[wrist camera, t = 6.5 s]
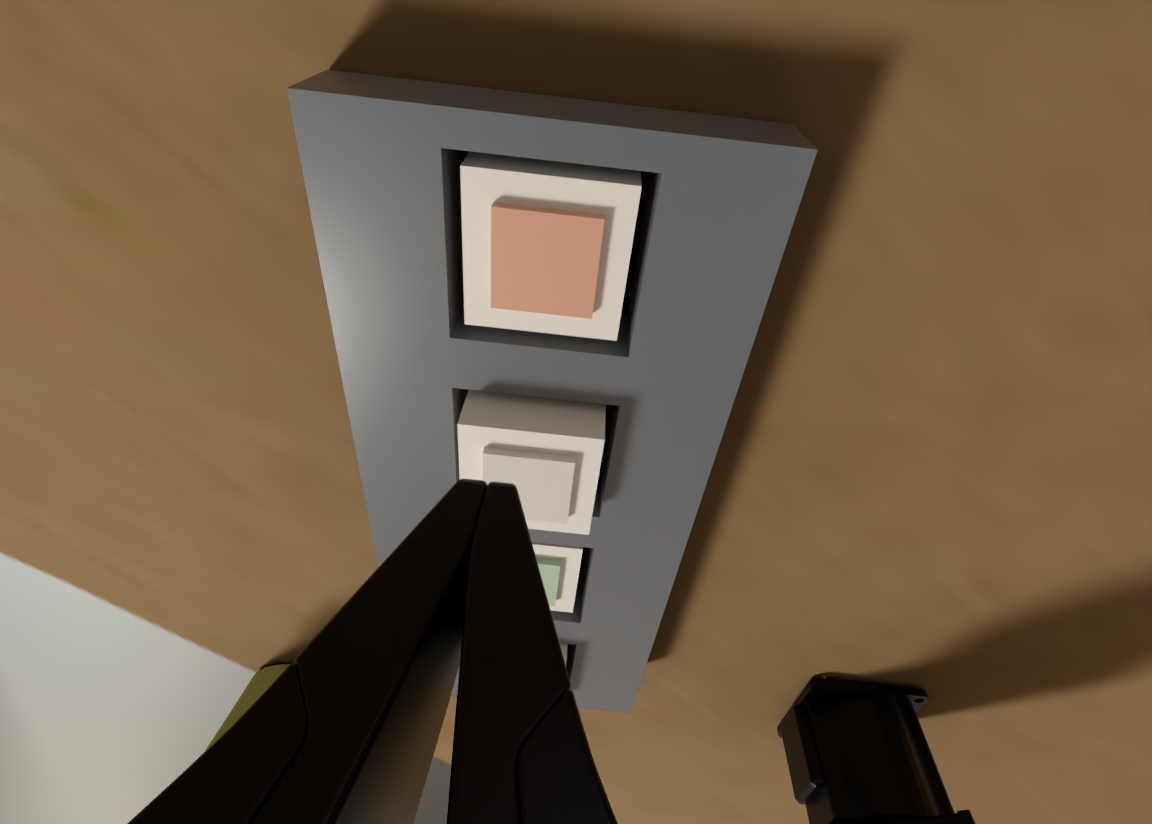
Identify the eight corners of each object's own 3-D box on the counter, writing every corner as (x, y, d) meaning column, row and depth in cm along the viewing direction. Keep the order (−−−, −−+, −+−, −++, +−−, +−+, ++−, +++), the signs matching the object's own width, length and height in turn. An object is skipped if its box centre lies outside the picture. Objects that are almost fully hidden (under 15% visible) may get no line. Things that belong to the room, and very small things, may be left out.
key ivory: (605, 398, 19) (604, 446, 17) (590, 492, 22) (588, 541, 20) (469, 384, 19) (455, 430, 17) (472, 480, 22) (459, 528, 20)
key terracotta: (639, 161, 16) (642, 190, 14) (616, 307, 19) (616, 346, 17) (475, 143, 16) (457, 168, 14) (477, 291, 19) (462, 329, 17)
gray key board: (793, 124, 15) (817, 149, 13) (629, 668, 33) (630, 712, 31) (327, 69, 15) (286, 88, 13) (413, 647, 33) (400, 690, 31)
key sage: (585, 510, 25) (582, 555, 23) (575, 574, 27) (572, 618, 26) (479, 499, 25) (468, 543, 23) (480, 564, 27) (471, 608, 26)
